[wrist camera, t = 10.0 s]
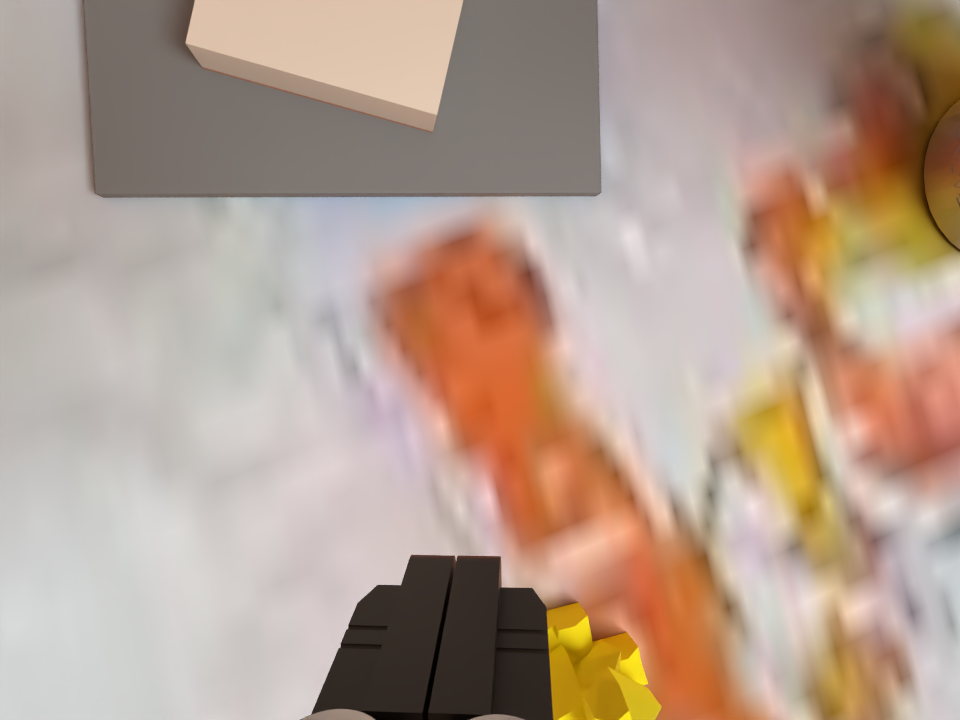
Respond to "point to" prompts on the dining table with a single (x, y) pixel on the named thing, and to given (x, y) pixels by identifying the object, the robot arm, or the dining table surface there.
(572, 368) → the dining table surface
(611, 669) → the crumpled paper
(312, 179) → the mat
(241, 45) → the tile
